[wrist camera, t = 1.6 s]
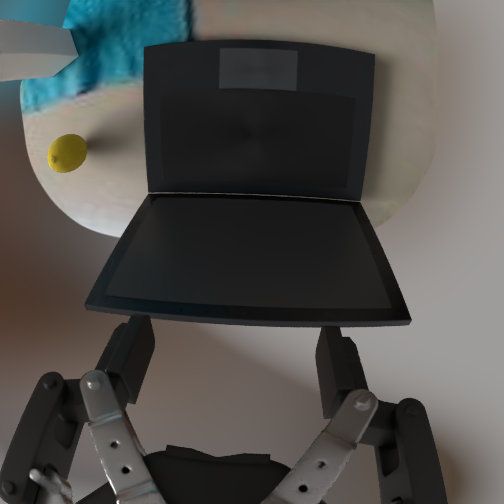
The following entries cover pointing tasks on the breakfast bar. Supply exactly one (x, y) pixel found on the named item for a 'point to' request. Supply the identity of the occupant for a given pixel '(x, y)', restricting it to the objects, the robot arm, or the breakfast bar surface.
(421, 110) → the breakfast bar surface
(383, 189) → the breakfast bar surface
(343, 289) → the laptop screen
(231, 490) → the robot arm
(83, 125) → the breakfast bar surface
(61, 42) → the milk
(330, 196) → the laptop
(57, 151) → the lemon
